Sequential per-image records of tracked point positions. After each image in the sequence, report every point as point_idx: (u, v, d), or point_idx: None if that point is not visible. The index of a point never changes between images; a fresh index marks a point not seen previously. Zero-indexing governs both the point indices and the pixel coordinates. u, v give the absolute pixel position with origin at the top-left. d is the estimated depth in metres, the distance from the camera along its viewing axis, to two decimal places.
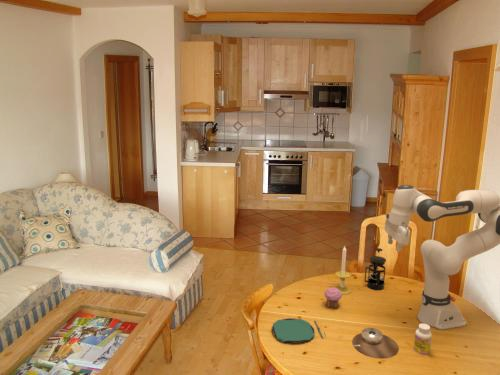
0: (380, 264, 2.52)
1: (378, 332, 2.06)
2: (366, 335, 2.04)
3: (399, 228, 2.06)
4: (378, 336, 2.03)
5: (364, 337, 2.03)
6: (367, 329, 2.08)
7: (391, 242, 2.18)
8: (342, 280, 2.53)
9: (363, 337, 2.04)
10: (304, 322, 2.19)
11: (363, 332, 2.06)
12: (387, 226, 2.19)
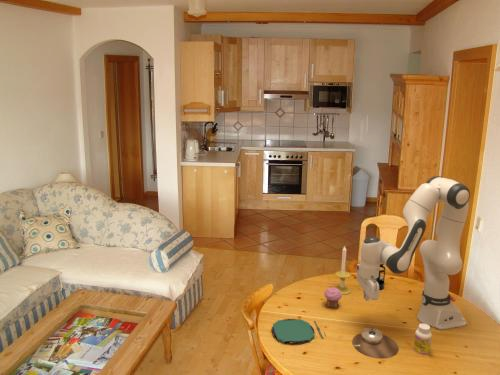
0: (380, 264, 2.52)
1: (378, 332, 2.06)
2: (366, 335, 2.04)
3: (368, 282, 2.03)
4: (378, 336, 2.03)
5: (364, 337, 2.03)
6: (367, 329, 2.08)
7: None
8: (342, 280, 2.53)
9: (363, 337, 2.04)
10: (304, 322, 2.19)
11: (363, 332, 2.06)
12: (359, 277, 2.16)
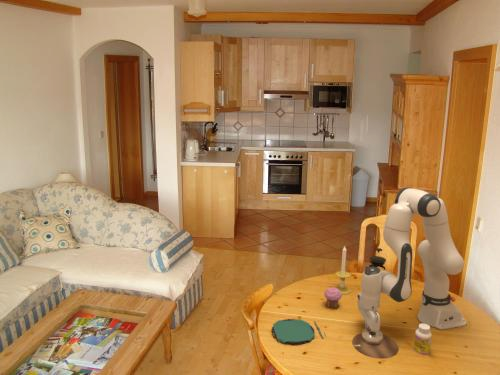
0: (380, 264, 2.52)
1: (378, 332, 2.05)
2: (366, 335, 2.03)
3: (369, 313, 2.03)
4: (379, 337, 2.02)
5: (364, 337, 2.03)
6: (367, 329, 2.08)
7: None
8: (342, 280, 2.53)
9: (363, 337, 2.04)
10: (304, 323, 2.19)
11: (363, 332, 2.05)
12: (360, 306, 2.16)
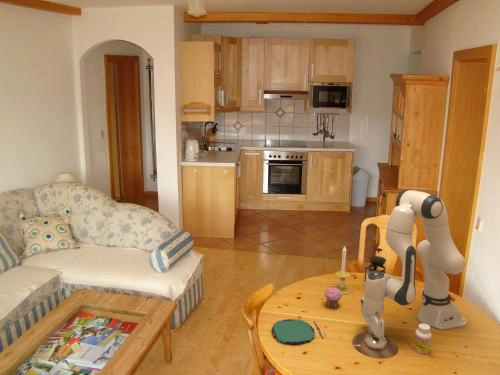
0: (380, 264, 2.52)
1: (382, 338, 2.01)
2: (369, 341, 1.99)
3: (373, 318, 1.98)
4: (382, 342, 1.98)
5: (367, 343, 1.99)
6: (371, 335, 2.04)
7: None
8: (342, 280, 2.53)
9: (366, 343, 2.00)
10: (304, 323, 2.19)
11: (367, 338, 2.01)
12: (363, 311, 2.11)
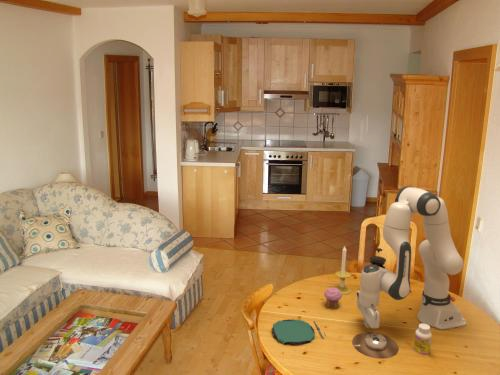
0: (380, 264, 2.52)
1: (382, 338, 2.01)
2: (369, 341, 1.99)
3: (369, 310, 2.04)
4: (382, 343, 1.98)
5: (368, 343, 1.99)
6: (371, 335, 2.03)
7: None
8: (342, 280, 2.53)
9: (367, 343, 2.00)
10: (304, 323, 2.19)
11: (367, 338, 2.01)
12: (359, 304, 2.17)
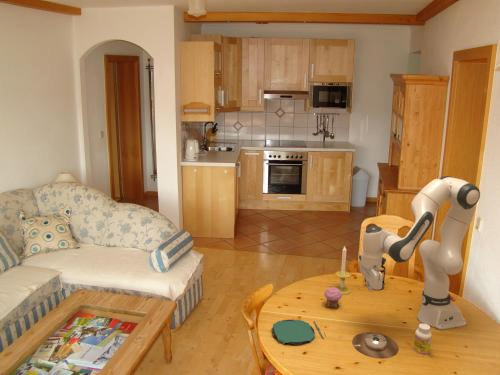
0: None
1: (382, 338, 2.01)
2: (369, 341, 1.99)
3: (371, 272, 2.02)
4: (382, 343, 1.98)
5: (368, 343, 1.99)
6: (371, 335, 2.03)
7: None
8: (342, 280, 2.53)
9: (367, 343, 2.00)
10: (304, 323, 2.18)
11: (367, 338, 2.01)
12: (361, 267, 2.15)
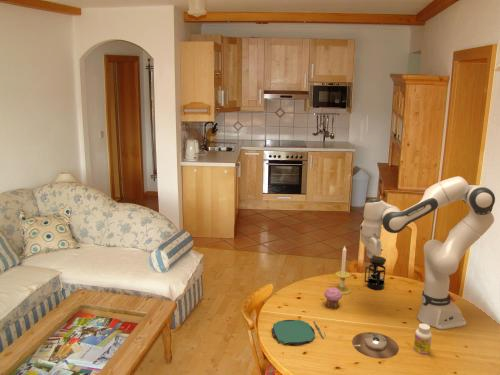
0: (380, 264, 2.52)
1: (382, 338, 2.01)
2: (369, 341, 1.99)
3: (371, 239, 2.19)
4: (382, 343, 1.98)
5: (368, 343, 1.99)
6: (371, 335, 2.03)
7: None
8: (342, 280, 2.53)
9: (367, 343, 2.00)
10: (303, 323, 2.18)
11: (367, 338, 2.01)
12: (362, 237, 2.32)
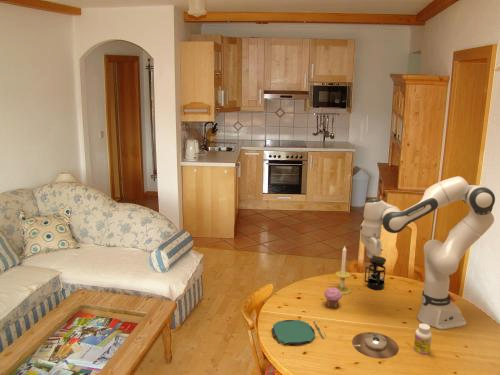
0: (380, 264, 2.52)
1: (382, 338, 2.01)
2: (369, 341, 1.99)
3: (371, 239, 2.19)
4: (382, 343, 1.98)
5: (368, 343, 1.99)
6: (371, 335, 2.03)
7: None
8: (342, 280, 2.53)
9: (367, 343, 2.00)
10: (303, 323, 2.18)
11: (367, 338, 2.01)
12: (362, 237, 2.32)
